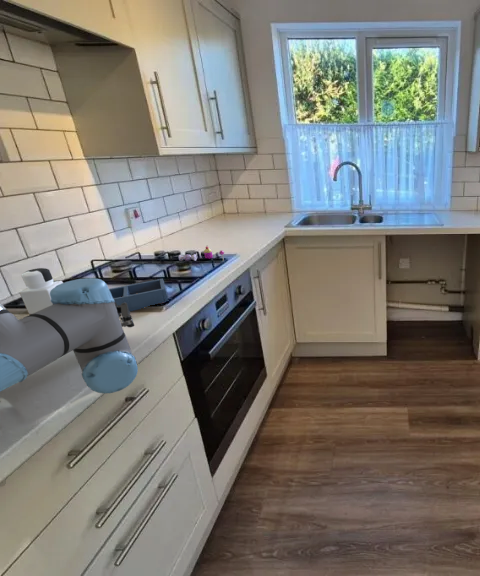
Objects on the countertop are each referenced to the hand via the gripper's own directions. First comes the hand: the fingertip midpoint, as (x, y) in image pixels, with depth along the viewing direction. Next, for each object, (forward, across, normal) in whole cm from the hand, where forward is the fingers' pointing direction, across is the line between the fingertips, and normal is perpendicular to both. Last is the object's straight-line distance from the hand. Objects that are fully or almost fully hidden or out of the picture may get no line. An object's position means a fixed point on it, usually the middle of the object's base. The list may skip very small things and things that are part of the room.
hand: (85, 307), depth 87 cm
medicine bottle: (+32, -8, -9) cm, 34 cm away
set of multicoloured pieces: (+46, +43, -8) cm, 64 cm away
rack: (+17, +10, -9) cm, 21 cm away
